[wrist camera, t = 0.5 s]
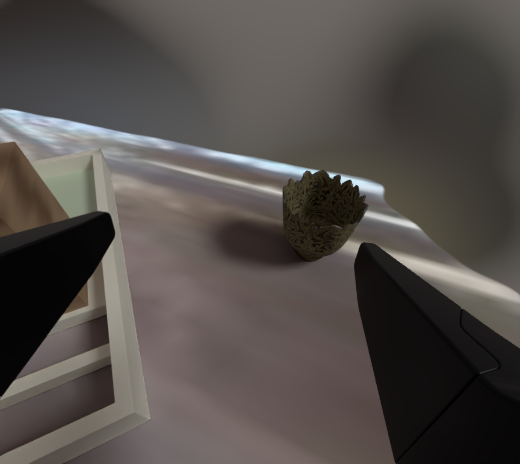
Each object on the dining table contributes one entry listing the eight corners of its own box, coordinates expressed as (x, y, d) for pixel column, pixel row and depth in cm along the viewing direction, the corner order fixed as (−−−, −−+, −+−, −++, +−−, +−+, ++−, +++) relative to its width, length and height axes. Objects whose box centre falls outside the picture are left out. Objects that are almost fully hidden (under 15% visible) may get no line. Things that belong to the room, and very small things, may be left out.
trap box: (150, 419, 18) (134, 412, 16) (-69, 529, 15) (-137, 543, 12) (110, 171, 37) (100, 149, 35) (10, 192, 34) (-10, 169, 31)
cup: (304, 291, 26) (321, 238, 20) (262, 242, 30) (266, 185, 24) (357, 258, 29) (386, 203, 23) (312, 217, 33) (327, 161, 27)
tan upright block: (88, 305, 22) (-5, 212, 14) (3, 334, 21) (-159, 247, 12) (85, 239, 27) (14, 141, 19) (16, 258, 25) (-96, 159, 17)
